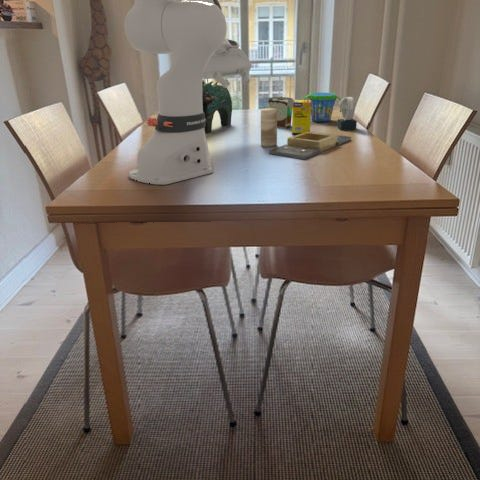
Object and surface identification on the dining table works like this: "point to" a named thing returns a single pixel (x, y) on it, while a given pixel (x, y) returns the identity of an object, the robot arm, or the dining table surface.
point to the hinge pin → (269, 127)
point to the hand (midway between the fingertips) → (237, 84)
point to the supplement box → (301, 116)
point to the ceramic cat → (216, 104)
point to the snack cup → (322, 106)
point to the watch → (347, 114)
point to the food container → (282, 110)
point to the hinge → (308, 144)
